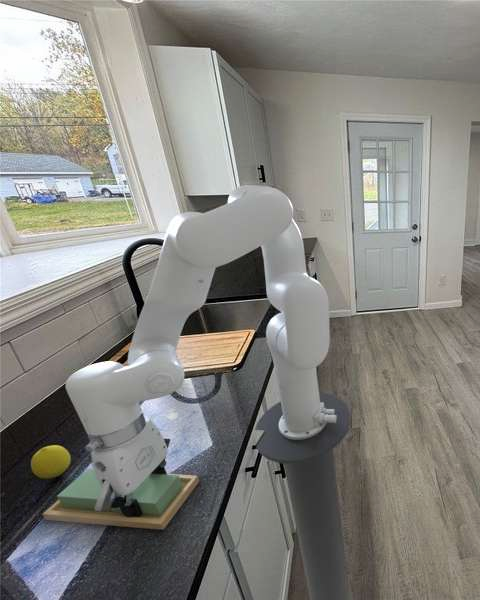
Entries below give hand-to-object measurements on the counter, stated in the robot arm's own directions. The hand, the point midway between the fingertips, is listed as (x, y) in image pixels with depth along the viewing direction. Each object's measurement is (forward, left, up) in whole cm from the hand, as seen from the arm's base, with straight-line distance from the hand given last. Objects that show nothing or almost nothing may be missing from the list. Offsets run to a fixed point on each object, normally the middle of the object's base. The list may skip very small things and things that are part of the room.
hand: (148, 497), depth 63 cm
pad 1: (+10, 0, -1) cm, 11 cm away
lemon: (+25, -4, -2) cm, 25 cm away
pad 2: (0, 0, -1) cm, 1 cm away
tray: (+5, 0, -1) cm, 5 cm away
